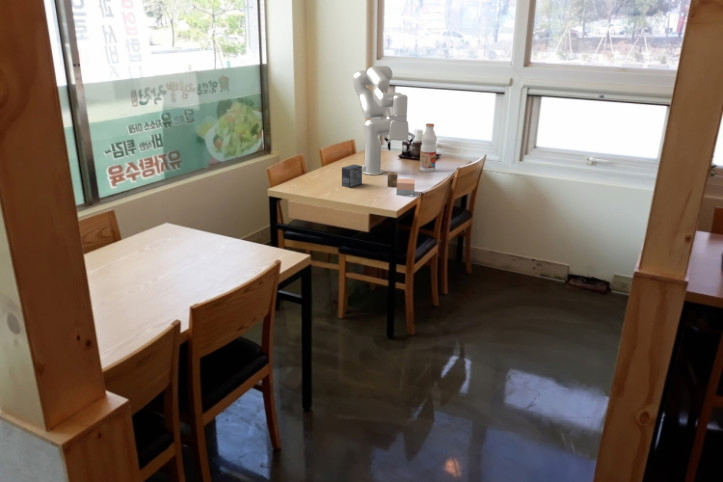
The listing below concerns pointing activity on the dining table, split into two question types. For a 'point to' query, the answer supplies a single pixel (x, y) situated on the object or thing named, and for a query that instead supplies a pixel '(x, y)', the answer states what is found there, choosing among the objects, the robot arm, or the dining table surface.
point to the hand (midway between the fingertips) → (398, 150)
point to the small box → (351, 176)
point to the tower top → (405, 184)
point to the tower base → (405, 192)
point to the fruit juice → (428, 150)
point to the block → (392, 179)
